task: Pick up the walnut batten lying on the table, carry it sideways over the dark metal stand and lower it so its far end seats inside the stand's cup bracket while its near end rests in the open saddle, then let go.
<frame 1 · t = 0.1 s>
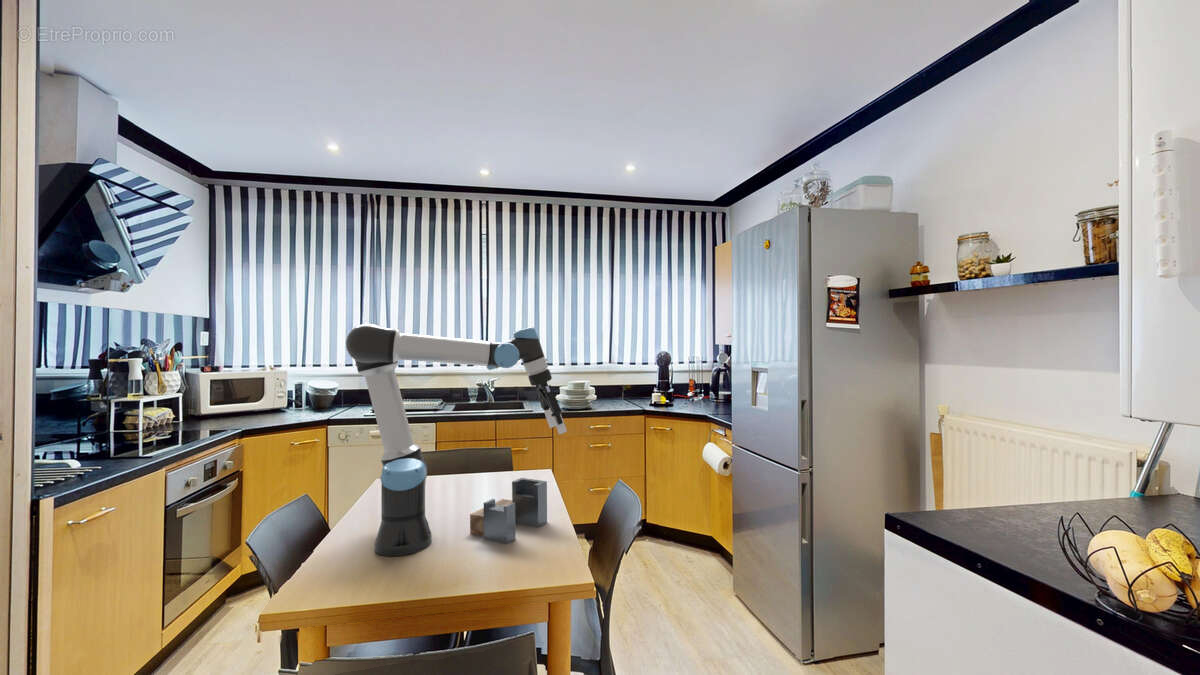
hand: (558, 429, 167), 28 cm above the table, tool tilted 20°, fingers open, 13 cm apart
walnut rail: (493, 526, 153), on the table
cup bracket stand: (515, 530, 149), on the table
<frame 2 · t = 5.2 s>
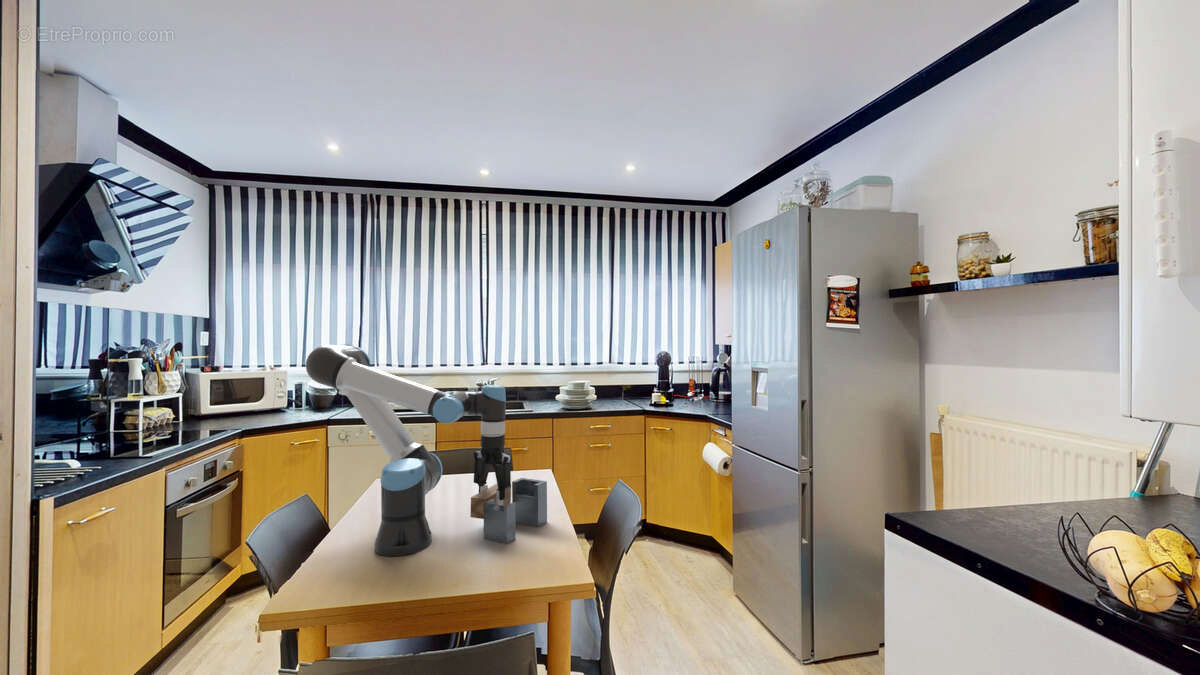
hand: (491, 508, 153), 6 cm above the table, tool pointing down, fingers closed on walnut rail, 6 cm apart
walnut rail: (491, 509, 153), point 5 cm above the table, touching gripper
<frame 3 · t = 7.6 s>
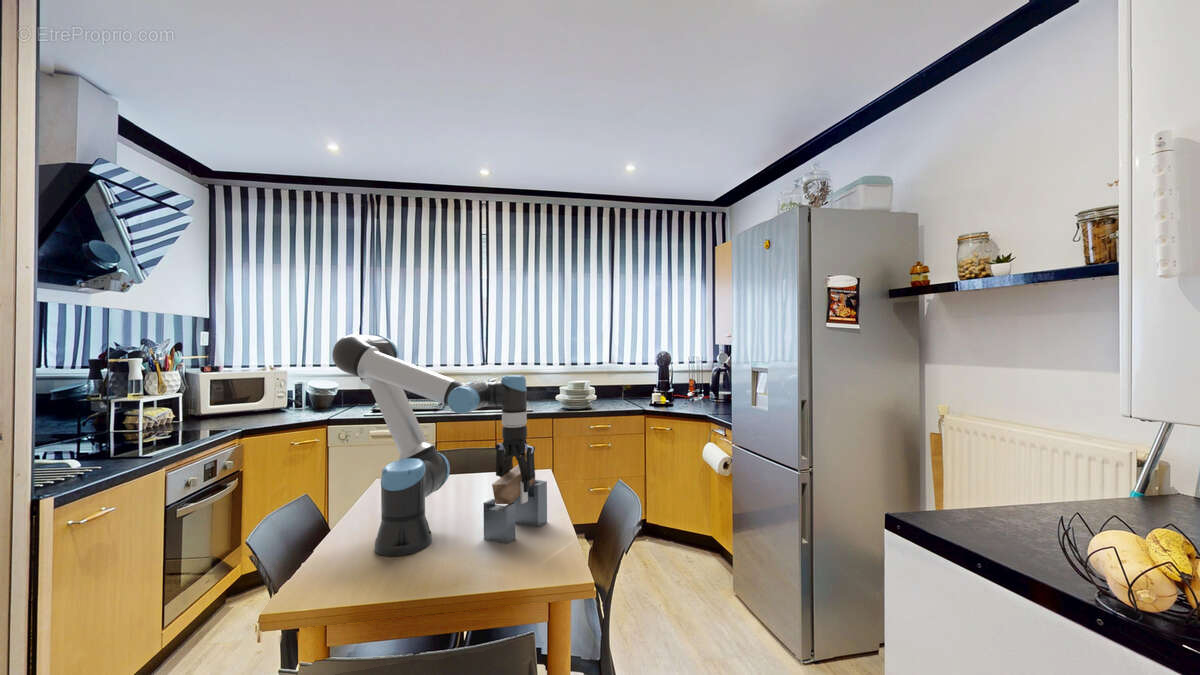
hand: (515, 500, 149), 9 cm above the table, tool pointing down, fingers closed on walnut rail, 6 cm apart
walnut rail: (516, 492, 150), point 12 cm above the table, tilted 10°, touching cup bracket stand, gripper
when the fingers open (8 cm above the table, at t = 7.9 s): walnut rail drops 2 cm, resting on cup bracket stand.
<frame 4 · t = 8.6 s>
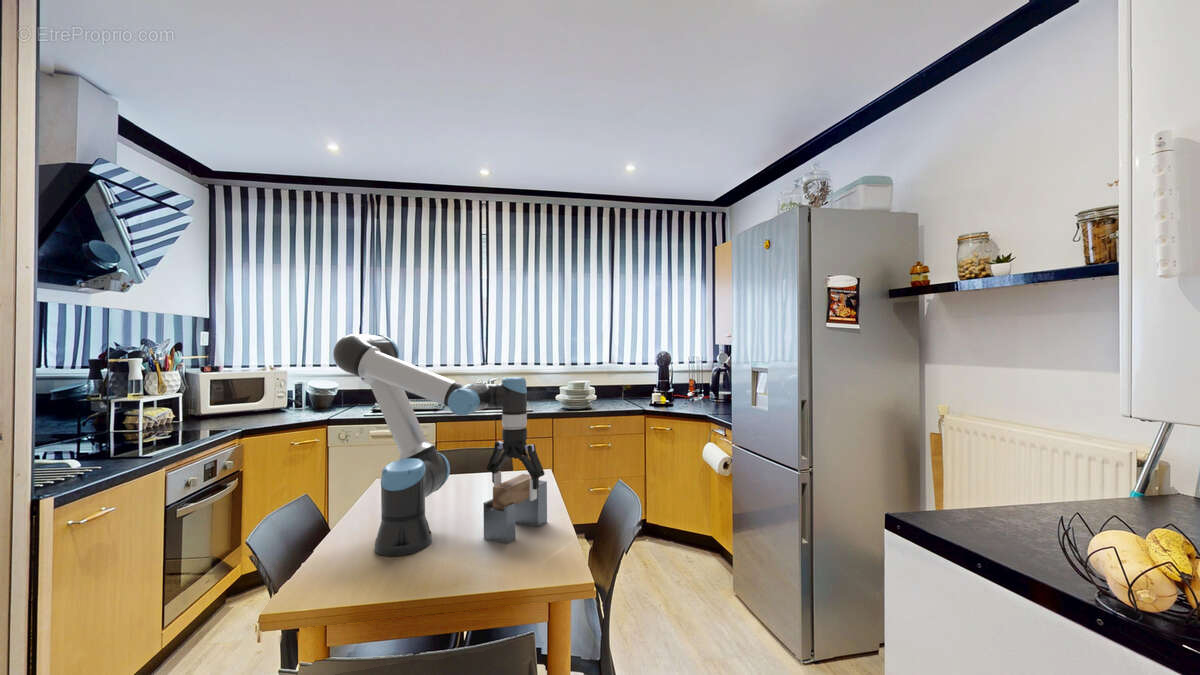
hand: (515, 496, 149), 10 cm above the table, tool pointing down, fingers open, 13 cm apart
walnut rail: (515, 500, 149), point 9 cm above the table, touching cup bracket stand
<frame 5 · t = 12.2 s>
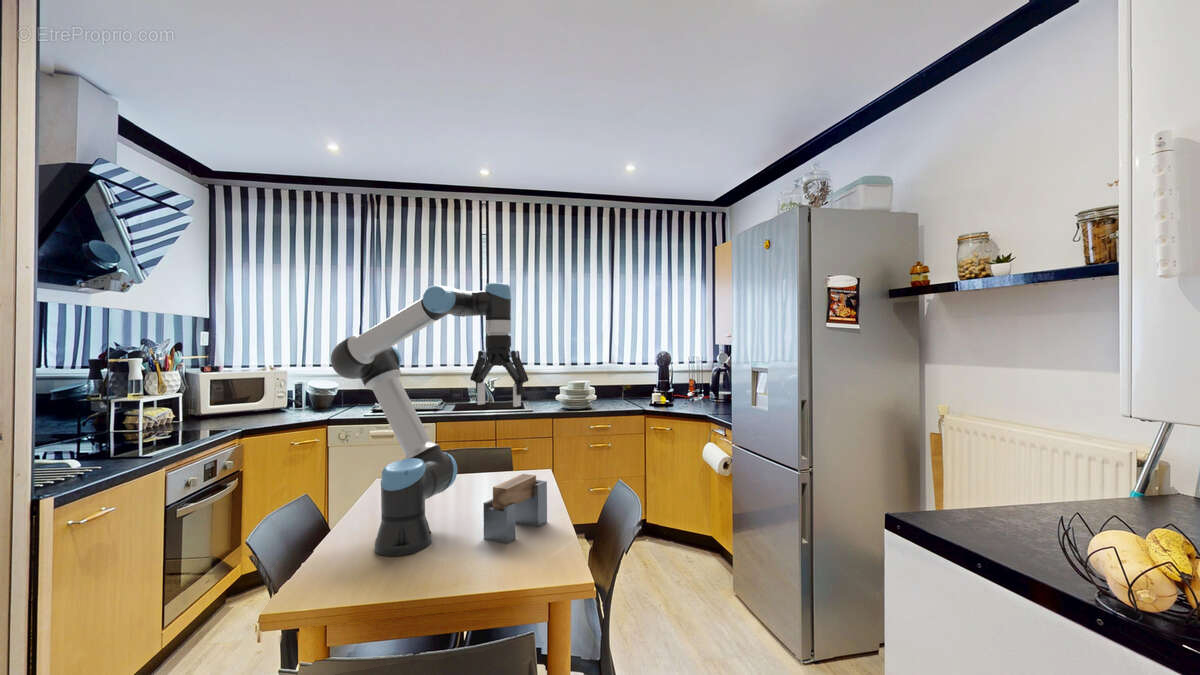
hand: (498, 405, 146), 39 cm above the table, tool pointing down, fingers open, 13 cm apart
nothing on the table moved.
at the end: walnut rail 0.1 cm off-centre on the cup bracket stand, point 9.0 cm above the cup bracket stand's base; walnut rail tilted 0°; the gripper is holding nothing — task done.
